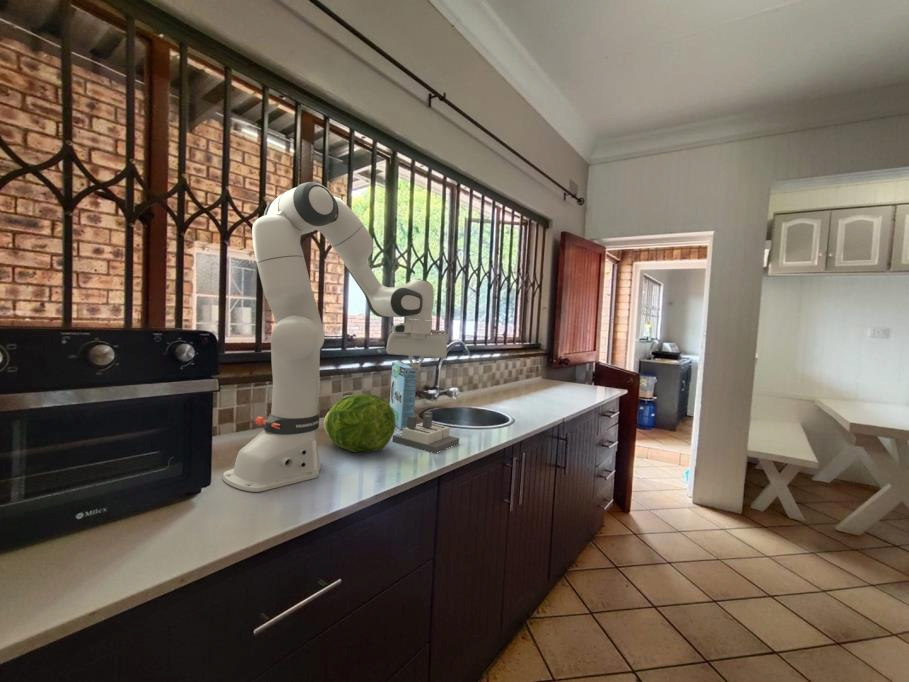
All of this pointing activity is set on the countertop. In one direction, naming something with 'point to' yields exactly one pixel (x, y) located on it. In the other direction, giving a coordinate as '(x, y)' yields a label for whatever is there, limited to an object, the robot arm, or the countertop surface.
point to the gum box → (402, 392)
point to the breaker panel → (427, 447)
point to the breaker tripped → (427, 421)
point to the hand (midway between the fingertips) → (415, 369)
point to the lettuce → (360, 423)
